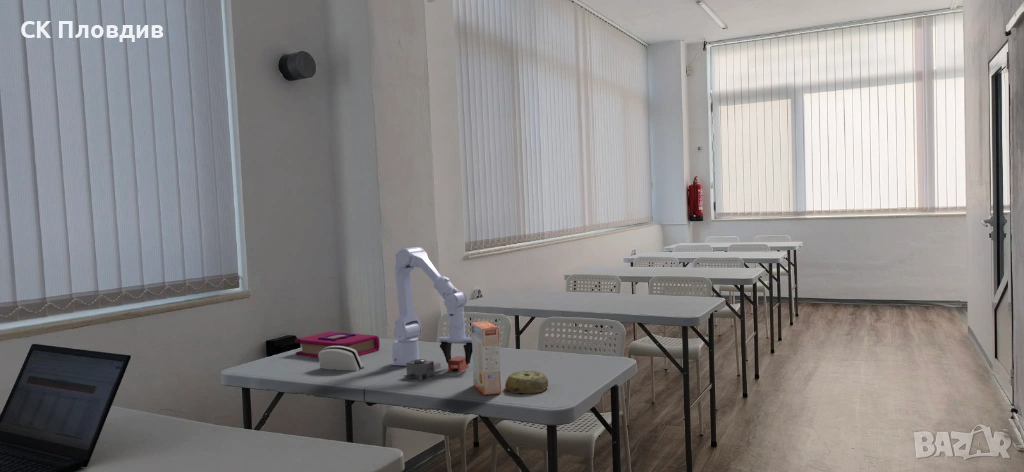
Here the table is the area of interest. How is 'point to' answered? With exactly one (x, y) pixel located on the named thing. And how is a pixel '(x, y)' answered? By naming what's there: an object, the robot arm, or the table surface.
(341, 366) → the white napkin holder
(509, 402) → the table surface
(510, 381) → the greenish tan ring
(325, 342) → the book
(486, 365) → the cracker box
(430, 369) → the coupler
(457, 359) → the red notched block
